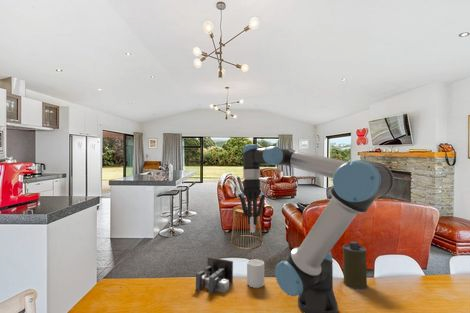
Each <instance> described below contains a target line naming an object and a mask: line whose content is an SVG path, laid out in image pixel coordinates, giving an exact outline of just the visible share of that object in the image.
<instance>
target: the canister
mask: <svg viewBox="0 0 470 313" xmlns="http://www.w3.org/2000/svg"><path fill="white" fill-rule="evenodd" d="M342 257H343V258H342V260H343V264H342V265H343V266H342V267H343V285H345V286H346V287H348V288H349V289H353V290H361V291H362V289H363V290H365V289H367V288H368V284H367V283H368V282H367V280H368V279H367V274H368V272H367V248H366V247H364V246H362V245H361V244H359V242H358V241H353V240H352V241H350V242H349V244H344V245H342Z"/></svg>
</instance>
